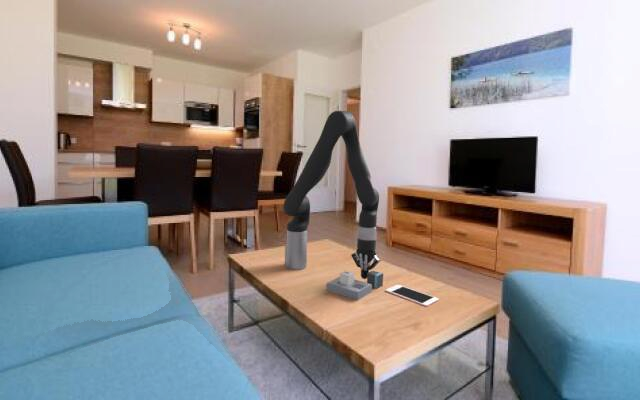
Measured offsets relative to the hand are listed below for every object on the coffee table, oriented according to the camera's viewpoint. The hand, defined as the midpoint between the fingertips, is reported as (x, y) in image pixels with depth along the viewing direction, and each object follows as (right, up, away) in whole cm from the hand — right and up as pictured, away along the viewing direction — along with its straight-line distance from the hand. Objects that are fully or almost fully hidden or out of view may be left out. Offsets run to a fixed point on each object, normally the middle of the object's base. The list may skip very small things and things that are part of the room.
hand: (364, 278), depth 141 cm
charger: (-8, -3, -9) cm, 12 cm away
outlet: (-7, -3, -9) cm, 12 cm away
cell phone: (+16, -4, -12) cm, 20 cm away
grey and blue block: (+4, -2, -3) cm, 5 cm away
